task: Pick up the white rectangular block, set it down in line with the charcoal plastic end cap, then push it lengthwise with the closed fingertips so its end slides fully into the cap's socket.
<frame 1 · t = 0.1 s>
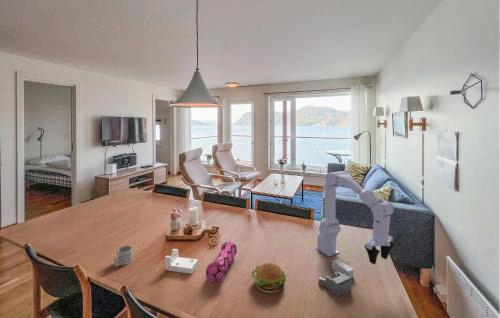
hand: (378, 260, 98), 10 cm above the table, fingers open, 7 cm apart
food: (268, 284, 99), on the table
mug: (123, 263, 114), on the table
bracket: (182, 269, 110), on the table
white rectangular block: (342, 272, 106), on the table
endcap: (336, 287, 96), on the table
pencil case: (223, 269, 109), on the table
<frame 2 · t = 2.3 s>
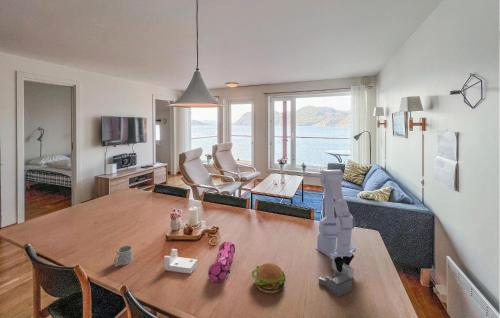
hand: (342, 269, 106), 1 cm above the table, fingers closed on white rectangular block, 3 cm apart
white rectangular block: (342, 272, 106), on the table, touching gripper
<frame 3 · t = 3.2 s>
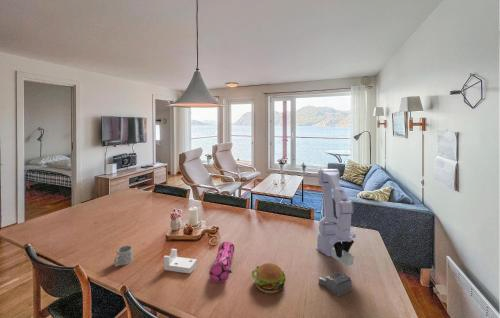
hand: (341, 255, 105), 8 cm above the table, fingers closed on white rectangular block, 3 cm apart
white rectangular block: (342, 260, 105), point 6 cm above the table, touching gripper
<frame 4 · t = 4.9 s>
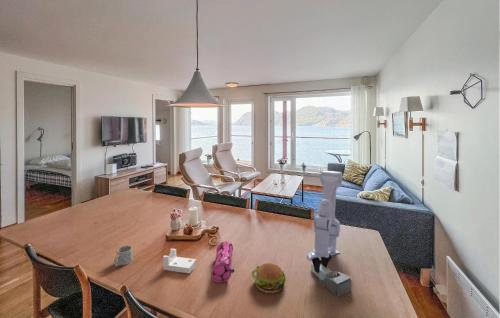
hand: (320, 270, 104), 2 cm above the table, fingers closed on white rectangular block, 3 cm apart
white rectangular block: (320, 275, 104), on the table, touching gripper
when the fingers open (2 cm above the table, at t = 5.3 s): white rectangular block stays where it is, on the table.
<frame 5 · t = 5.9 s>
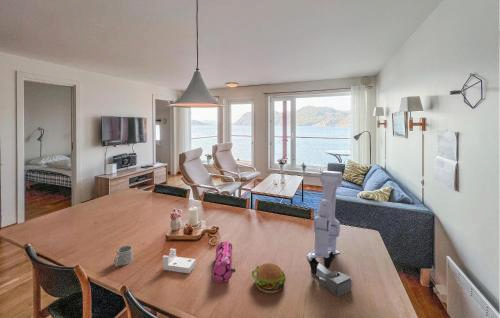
hand: (320, 270, 104), 2 cm above the table, fingers open, 7 cm apart
white rectangular block: (320, 275, 104), on the table
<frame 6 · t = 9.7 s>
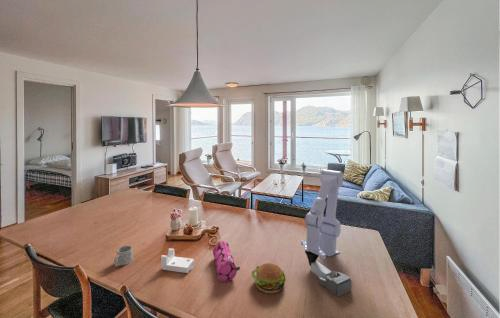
hand: (312, 265, 109), 1 cm above the table, fingers closed
white rectangular block: (320, 275, 104), on the table, touching gripper
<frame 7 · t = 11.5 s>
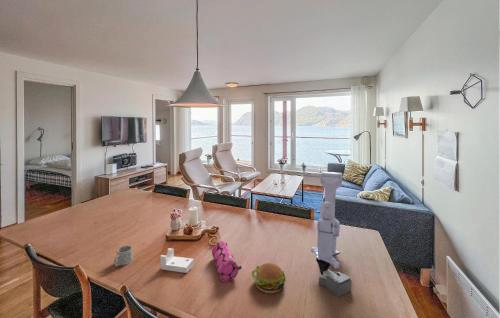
hand: (323, 274, 103), 1 cm above the table, fingers closed
white rectangular block: (333, 285, 98), on the table, touching endcap, gripper
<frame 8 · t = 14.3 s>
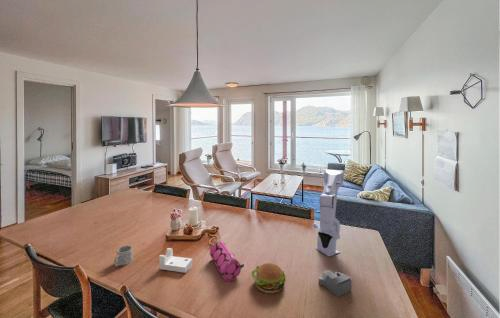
hand: (325, 247, 109), 10 cm above the table, fingers closed
white rectangular block: (333, 285, 98), on the table
at the end: white rectangular block 1.0 cm from the target spot on the endcap, point 0.0 cm above the endcap's base; white rectangular block tilted 0°; the gripper is holding nothing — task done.
